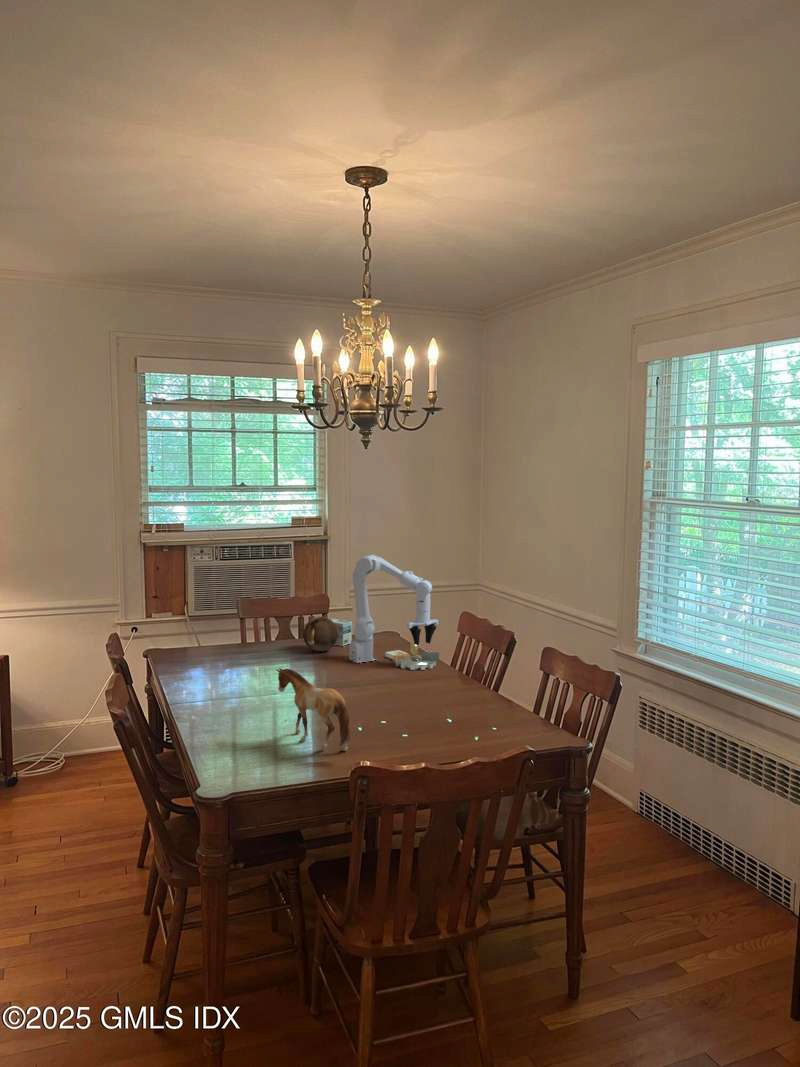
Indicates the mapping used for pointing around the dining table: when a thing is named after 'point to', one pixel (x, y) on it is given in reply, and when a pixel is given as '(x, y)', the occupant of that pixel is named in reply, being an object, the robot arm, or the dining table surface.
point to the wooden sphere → (320, 634)
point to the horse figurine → (316, 705)
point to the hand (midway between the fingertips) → (422, 643)
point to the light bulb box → (343, 631)
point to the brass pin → (413, 649)
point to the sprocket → (418, 661)
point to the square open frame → (395, 654)
